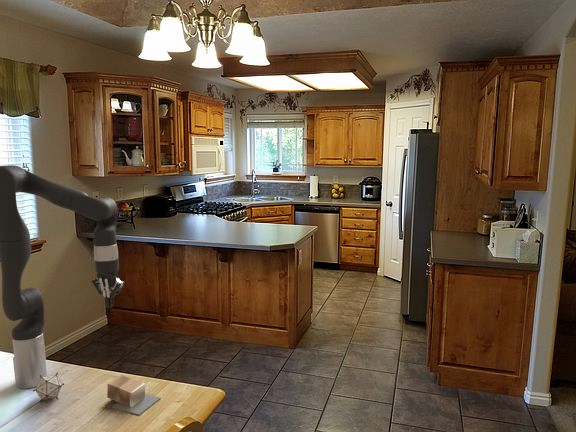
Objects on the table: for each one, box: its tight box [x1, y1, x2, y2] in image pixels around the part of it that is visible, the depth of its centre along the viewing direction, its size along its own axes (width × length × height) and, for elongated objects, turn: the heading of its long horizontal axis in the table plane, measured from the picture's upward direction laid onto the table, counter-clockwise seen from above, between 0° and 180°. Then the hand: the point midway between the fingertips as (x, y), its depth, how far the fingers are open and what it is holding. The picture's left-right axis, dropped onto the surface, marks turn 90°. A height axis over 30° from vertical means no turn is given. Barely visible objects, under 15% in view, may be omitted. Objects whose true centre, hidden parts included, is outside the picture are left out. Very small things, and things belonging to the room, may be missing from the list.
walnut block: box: [106, 374, 146, 407], centre depth 143 cm, size 5×6×10 cm
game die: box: [32, 372, 65, 403], centre depth 145 cm, size 9×8×10 cm
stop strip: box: [105, 399, 117, 410], centre depth 145 cm, size 2×12×1 cm, turn 157°
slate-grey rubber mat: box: [111, 393, 162, 416], centre depth 142 cm, size 11×10×1 cm
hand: (109, 306), depth 152 cm, fingers closed
